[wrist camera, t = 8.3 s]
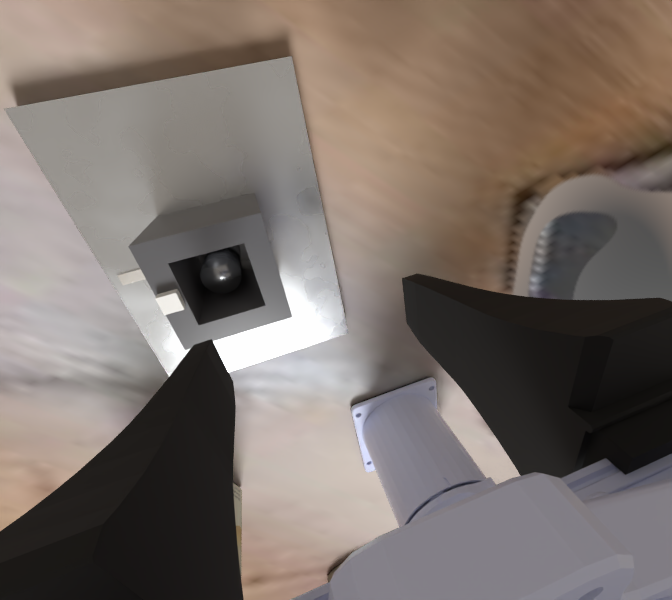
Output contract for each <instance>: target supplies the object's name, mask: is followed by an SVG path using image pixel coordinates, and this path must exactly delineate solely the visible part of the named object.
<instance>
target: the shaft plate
mask: <svg viewBox="0 0 672 600" xmlns="http://www.w3.org/2000/svg"><path fill="white" fill-rule="evenodd" d="M4 110H5V111H6V113H7V115H8V116H9V118H10V120H11V121H12V123H13V124H14V126H15V128H16V129H17V131H18V133H19V134H20V136H21V137H22V139H23V141H24V142H25V144H26V146H27V147H28V149H29V150H30V152H31V154H32V155H33V157H34V159H35V160H36V162H37V163H38V165H39V167H40V168H41V170H42V172H43V173H44V175H45V176H46V178H47V180H48V181H49V183H50V185H51V186H52V188H53V189H54V191H55V193H56V194H57V196H58V198H59V199H60V201H61V202H62V204H63V206H64V207H65V209H66V211H67V212H68V214H69V215H70V217H71V219H72V220H73V222H74V224H75V225H76V227H77V228H78V230H79V232H80V233H81V235H82V237H83V238H84V240H85V241H86V243H87V245H88V246H89V248H90V250H91V251H92V253H93V254H94V256H95V258H96V259H97V261H98V263H99V264H100V266H101V267H102V269H103V271H104V272H105V274H106V276H107V277H108V279H109V280H110V282H111V284H112V285H113V287H114V289H115V290H116V292H117V293H118V295H119V297H120V298H121V300H122V302H123V303H124V305H125V306H126V308H127V310H128V311H129V313H130V315H131V316H132V318H133V319H134V321H135V323H136V324H137V326H138V327H139V329H140V331H141V332H142V334H143V336H144V337H145V339H146V340H147V342H148V344H149V345H150V347H151V349H152V350H153V352H154V353H155V355H156V357H157V358H158V360H159V362H160V363H161V365H162V366H163V368H164V370H165V371H166V373H167V375H168V376H170V375H171V374H172V372H173V371H174V370H175V369H176V367H177V366H178V365H179V363H180V362H181V361H182V359H183V358H184V357H185V355H186V354H187V353H188V351H189V350H190V349H187V350H184V348H183V346H182V344H181V342H180V340H179V339H178V337H177V335H176V333H175V331H174V329H173V328H172V326H171V324H170V322H169V320H168V318H167V317H166V315H164V314H163V312H162V310H161V308H160V307H159V305H158V303H157V301H156V299H155V298H156V296H155V295H154V293H153V291H152V289H151V287H150V285H149V284H148V282H147V280H146V278H145V276H144V274H143V273H142V271H141V269H140V267H139V265H138V263H137V262H136V260H135V258H134V256H133V254H132V252H131V251H130V249H129V247H128V246H129V245H130V244H131V243H132V242H133V241H134V240H135V239H136V238H137V237H138V236H139V235H140V234H141V233H142V231H143V230H144V229H145V228H146V227H147V226H148V225H149V224H150V223H151V222H152V221H153V220H154V219H155V218H156V217H157V216H161V215H165V214H169V213H173V212H177V211H182V210H186V209H190V208H194V207H198V206H202V205H206V204H210V203H214V202H219V201H223V200H227V199H231V198H235V197H239V196H243V195H247V194H252V193H255V196H256V199H257V202H258V205H259V208H260V211H261V215H262V218H263V221H264V224H265V228H266V231H267V234H268V238H269V241H270V244H271V248H272V251H273V254H274V257H275V261H276V264H277V267H278V271H279V274H280V277H281V280H282V284H283V287H284V290H285V294H286V297H287V300H288V304H289V307H290V310H291V313H292V317H291V318H288V319H285V320H282V321H278V322H275V323H272V324H269V325H265V326H262V327H259V328H256V329H252V330H249V331H246V332H243V333H239V334H236V335H233V336H230V337H226V338H223V339H220V340H217V341H213V343H214V345H215V347H216V349H217V351H218V353H219V355H220V357H221V359H222V361H223V363H224V365H225V367H226V369H227V371H228V372H231V371H234V370H237V369H240V368H243V367H246V366H249V365H252V364H255V363H258V362H261V361H264V360H267V359H270V358H274V357H277V356H280V355H283V354H286V353H289V352H292V351H295V350H298V349H301V348H304V347H307V346H310V345H313V344H316V343H320V342H323V341H326V340H329V339H332V338H335V337H338V336H341V335H344V334H347V333H348V329H347V324H346V319H345V314H344V309H343V304H342V299H341V295H340V290H339V285H338V280H337V275H336V270H335V265H334V260H333V256H332V251H331V246H330V241H329V236H328V231H327V226H326V222H325V217H324V212H323V207H322V202H321V197H320V192H319V187H318V183H317V178H316V173H315V168H314V163H313V158H312V153H311V148H310V144H309V139H308V134H307V129H306V124H305V119H304V114H303V109H302V105H301V100H300V95H299V90H298V85H297V80H296V75H295V70H294V66H293V61H292V56H290V57H284V58H279V59H273V60H268V61H262V62H257V63H251V64H246V65H241V66H235V67H230V68H224V69H219V70H213V71H208V72H202V73H197V74H192V75H186V76H181V77H175V78H170V79H164V80H159V81H153V82H148V83H143V84H137V85H132V86H126V87H121V88H115V89H110V90H104V91H99V92H94V93H88V94H83V95H77V96H72V97H66V98H61V99H56V100H50V101H45V102H39V103H34V104H28V105H23V106H17V107H12V108H7V109H4ZM197 258H198V260H199V263H200V265H201V267H202V268H201V273H200V277H201V281H202V283H203V284H204V286H205V287H206V288H207V289H209V290H210V291H212V292H215V293H220V294H223V293H229V292H231V291H233V290H235V289H236V288H237V287H238V286H239V284H240V282H241V278H242V272H241V271H244V270H247V269H251V268H252V265H251V262H250V259H249V256H248V253H247V250H246V247H245V245H244V243H243V244H240V245H236V246H232V247H228V248H224V249H221V250H217V251H213V252H209V253H206V254H202V255H198V256H197Z"/></svg>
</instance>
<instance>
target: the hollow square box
mask: <svg viewBox="0 0 672 600" xmlns="http://www.w3.org/2000/svg"><path fill="white" fill-rule="evenodd" d="M243 243H244V245H245V247H246V250H247V253H248V256H249V259H250V262H251V265H252V268H251V269H247V270H244V271H241V272H242V278H241V282H240V284H239V286H238V287H237V288H236V289H235V290H233V291H231V292H229V293H223V294H220V293H215V292H212V291H210V290H209V289H207V288H206V287H205V286H204V284H203V283H202V281H201V277H200V273H201V268H202V267H201V265H200V263H199V260H198V258H197V256H198V255H202V254H206V253H209V252H213V251H217V250H221V249H224V248H228V247H232V246H236V245H240V244H243ZM128 247H129V249H130V251H131V252H132V254H133V256H134V258H135V260H136V262H137V263H138V265H139V267H140V269H141V271H142V273H143V274H144V276H145V278H146V280H147V282H148V284H149V285H150V287H151V289H152V291H153V293H154V295H155V296H156V298H155V299H156V301H157V303H158V305H159V307H160V308H161V310H162V312H163V314H164V315H166V317H167V318H168V320H169V322H170V324H171V326H172V328H173V329H174V331H175V333H176V335H177V337H178V339H179V340H180V342H181V344H182V346H183V348H184V350H187V349H191V348H192V347H193V345H195V344H198V343H201V342H204V341H207V340H210V339H212V341H217V340H220V339H223V338H226V337H230V336H233V335H236V334H239V333H243V332H246V331H249V330H252V329H256V328H259V327H262V326H265V325H269V324H272V323H275V322H278V321H282V320H285V319H288V318H291V317H292V313H291V310H290V307H289V304H288V300H287V297H286V294H285V290H284V287H283V284H282V280H281V277H280V274H279V271H278V267H277V264H276V261H275V257H274V254H273V251H272V248H271V244H270V241H269V238H268V234H267V231H266V228H265V224H264V221H263V218H262V215H261V211H260V208H259V205H258V202H257V199H256V196H255V193H252V194H247V195H243V196H239V197H235V198H231V199H227V200H223V201H219V202H214V203H210V204H206V205H202V206H198V207H194V208H190V209H186V210H182V211H177V212H173V213H169V214H165V215H161V216H157V217H156V218H155V219H154V220H153V221H152V222H151V223H150V224H149V225H148V226H147V227H146V228H145V229H144V230H143V231H142V233H141V234H140V235H139V236H138V237H137V238H136V239H135V240H134V241H133V242H132V243H131V244H130V245H129V246H128Z"/></svg>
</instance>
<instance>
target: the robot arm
mask: <svg viewBox="0 0 672 600" xmlns="http://www.w3.org/2000/svg"><path fill="white" fill-rule="evenodd" d="M402 282H403V292H404V301H405V311H406V320H407V324H408V325H409V327H410V328H411V330H412V332H413V333H414V335H415V336H416V337H417V339H418V340H419V342H420V343H421V344H422V345H423V346H424V348H425V349H426V350H427V351H428V352H429V353H430V354H431V355H432V356H433V358H434V359H435V360H436V361H437V362H438V363H439V364H440V365H441V366H442V367H443V369H444V370H445V371H446V372H447V373H448V374H449V375H450V376H451V377H452V378H453V379H454V381H455V382H456V383H457V384H458V385H459V386H460V388H461V389H462V390H463V391H464V393H465V394H466V395H467V397H468V398H469V399H470V401H471V402H472V404H473V405H474V406H475V408H476V409H477V410H478V412H479V413H480V415H481V416H482V417H483V419H484V420H485V422H486V423H487V425H488V426H489V428H490V429H491V430H492V432H493V433H494V435H495V436H496V438H497V439H498V441H499V442H500V444H501V445H502V447H503V448H504V450H505V452H506V453H507V455H508V456H509V458H510V459H511V461H512V462H513V464H514V465H515V467H516V469H517V470H518V472H519V474H520V475H521V476H519V477H515V478H511V479H509V480H507V481H504V482H502V483H500V484H497V485H496V484H495V483H494V481H493V480H492V479H491V478H490V477H489V478H486V477H485V475H484V474H483V473H482V471H481V470H480V469H479V467H478V466H477V464H476V463H475V462H474V460H473V459H472V458H471V456H470V455H469V453H468V452H467V451H466V449H465V448H464V447H463V445H462V444H461V443H460V441H459V440H458V438H457V437H456V436H455V434H454V433H453V432H452V430H451V429H450V427H449V426H448V425H447V423H446V422H445V421H444V419H443V418H442V416H441V415H440V414H439V412H438V411H437V388H436V380H435V379H434V378H432V377H430V378H427V379H424V380H421V381H419V382H416V383H413V384H410V385H408V386H405V387H402V388H399V389H397V390H394V391H391V392H388V393H386V394H383V395H380V396H377V397H374V398H372V399H369V400H366V401H363V402H361V403H358V404H355V405H353V406H352V408H351V413H352V417H353V421H354V425H355V430H356V434H357V438H358V442H359V447H360V451H361V455H362V459H363V463H364V468H365V470H366V472H372V471H374V470H376V472H377V474H378V477H379V479H380V482H381V484H382V486H383V489H384V491H385V494H386V496H387V498H388V501H389V503H390V506H391V508H392V510H393V513H394V515H395V518H396V520H397V522H398V525H399V528H397V529H395V530H392V531H390V532H388V533H385V534H383V535H381V536H379V537H377V538H375V539H374V540H372V541H370V542H369V543H367V544H365V545H364V546H362V547H360V548H359V549H357V550H355V551H354V552H352V553H351V554H350V555H349V556H348V557H347V559H346V560H345V561H344V562H343V563H342V564H341V565H340V566H339V568H338V569H337V570H336V571H335V572H334V574H333V576H332V578H331V580H330V582H329V583H326V584H324V585H322V586H320V587H317V588H315V589H313V590H311V591H308V592H306V593H304V594H302V595H300V596H297V597H295V598H293V599H291V600H672V302H671V301H669V300H666V299H662V298H645V299H625V300H560V299H545V298H533V297H524V296H517V295H509V294H503V293H497V292H492V291H487V290H482V289H477V288H473V287H469V286H465V285H461V284H457V283H453V282H449V281H446V280H442V279H438V278H434V277H430V276H426V275H421V274H415V275H412V276H408V277H405V278H402ZM234 432H235V395H234V386H233V381H232V379H231V377H230V375H229V373H228V371H227V369H226V367H225V365H224V363H223V361H222V359H221V357H220V355H219V353H218V351H217V349H216V347H215V345H214V343H213V341H212V339H210V340H207V341H204V342H201V343H198V344H195V345H193V347H192V348H191V349H190V350H189V351H188V353H187V354H186V355H185V357H184V358H183V359H182V361H181V362H180V363H179V365H178V366H177V367H176V369H175V370H174V371H173V372H172V374H171V375H170V376H169V378H168V379H167V380H166V382H165V383H164V384H163V386H162V387H161V388H160V389H159V390H158V392H157V393H156V394H155V395H154V396H153V398H152V399H151V400H150V401H149V402H148V404H147V405H146V406H145V407H144V408H143V409H142V411H141V412H140V413H139V414H138V415H137V416H136V417H135V418H134V419H133V420H132V421H131V423H130V424H129V425H128V426H127V427H126V428H125V429H124V430H123V431H122V432H121V433H120V434H119V435H118V436H117V437H116V438H115V439H114V440H113V441H112V442H111V443H110V444H108V445H107V446H106V447H105V448H104V449H103V450H102V451H101V452H99V453H98V454H97V455H96V456H95V457H94V458H93V459H92V460H91V461H89V462H88V463H87V464H86V465H85V466H84V467H83V468H82V469H81V470H79V471H78V472H77V473H76V474H75V475H74V476H72V477H71V478H70V479H69V480H67V481H66V482H65V483H64V484H63V485H61V486H60V487H59V488H58V489H56V490H55V491H54V492H53V493H51V494H50V495H49V496H47V497H46V498H45V499H44V500H42V501H41V502H40V503H38V504H37V505H36V506H35V507H33V508H32V509H31V510H29V511H28V512H27V513H25V514H24V515H23V516H21V517H20V518H18V519H17V520H16V521H14V522H13V523H11V524H10V525H9V526H7V527H6V528H4V529H3V530H2V531H0V600H243V592H242V584H241V574H240V565H239V555H238V545H237V533H236V521H235V508H234V491H233V453H234Z"/></svg>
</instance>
